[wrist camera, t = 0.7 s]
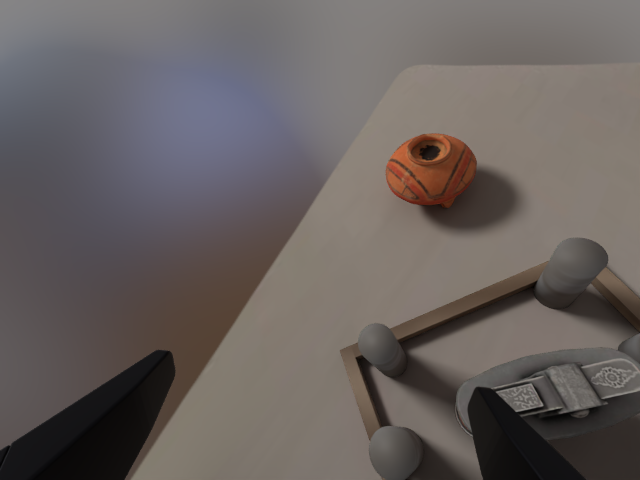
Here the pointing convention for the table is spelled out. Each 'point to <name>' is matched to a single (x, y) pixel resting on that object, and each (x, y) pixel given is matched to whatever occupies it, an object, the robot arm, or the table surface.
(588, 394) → the lighter
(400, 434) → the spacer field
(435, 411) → the table surface
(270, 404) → the table surface
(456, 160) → the pot
